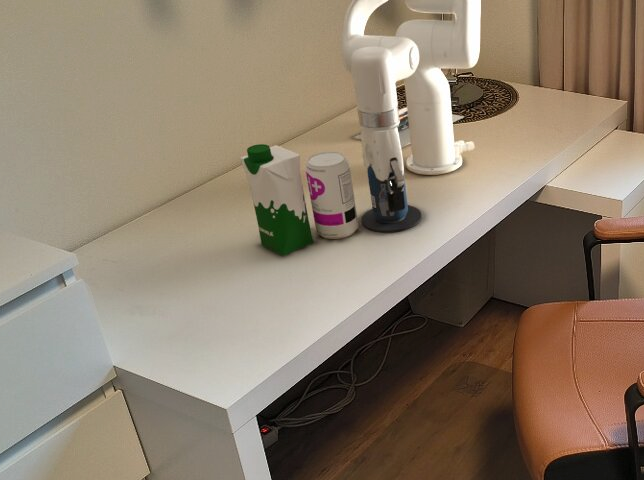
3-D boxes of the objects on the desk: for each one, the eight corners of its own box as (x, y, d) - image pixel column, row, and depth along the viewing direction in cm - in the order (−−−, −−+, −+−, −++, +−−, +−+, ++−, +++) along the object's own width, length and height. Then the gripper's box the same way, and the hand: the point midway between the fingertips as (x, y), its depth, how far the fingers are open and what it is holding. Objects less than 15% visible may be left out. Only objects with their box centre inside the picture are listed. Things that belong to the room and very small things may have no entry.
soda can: (399, 206, 185) (393, 150, 179) (414, 218, 180) (408, 162, 174) (368, 214, 183) (360, 158, 176) (382, 227, 178) (374, 170, 171)
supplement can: (327, 244, 173) (315, 171, 165) (309, 229, 179) (296, 157, 171) (366, 232, 177) (355, 160, 169) (347, 217, 183) (336, 147, 175)
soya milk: (254, 245, 174) (232, 146, 163) (294, 229, 179) (275, 132, 168) (281, 259, 169) (261, 158, 158) (321, 242, 174) (303, 143, 163)
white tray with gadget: (353, 137, 220) (350, 120, 217) (420, 106, 237) (418, 90, 234) (398, 149, 213) (396, 131, 210) (464, 116, 230) (463, 100, 227)
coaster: (407, 201, 189) (407, 199, 188) (431, 222, 180) (431, 220, 180) (352, 215, 184) (352, 213, 183) (375, 238, 175) (374, 235, 175)
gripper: (343, 107, 175) (355, 192, 185) (377, 134, 162) (388, 224, 172) (379, 99, 178) (390, 183, 188) (416, 125, 165) (425, 214, 175)
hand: (389, 202), depth 180 cm, fingers closed on soda can, 7 cm apart
